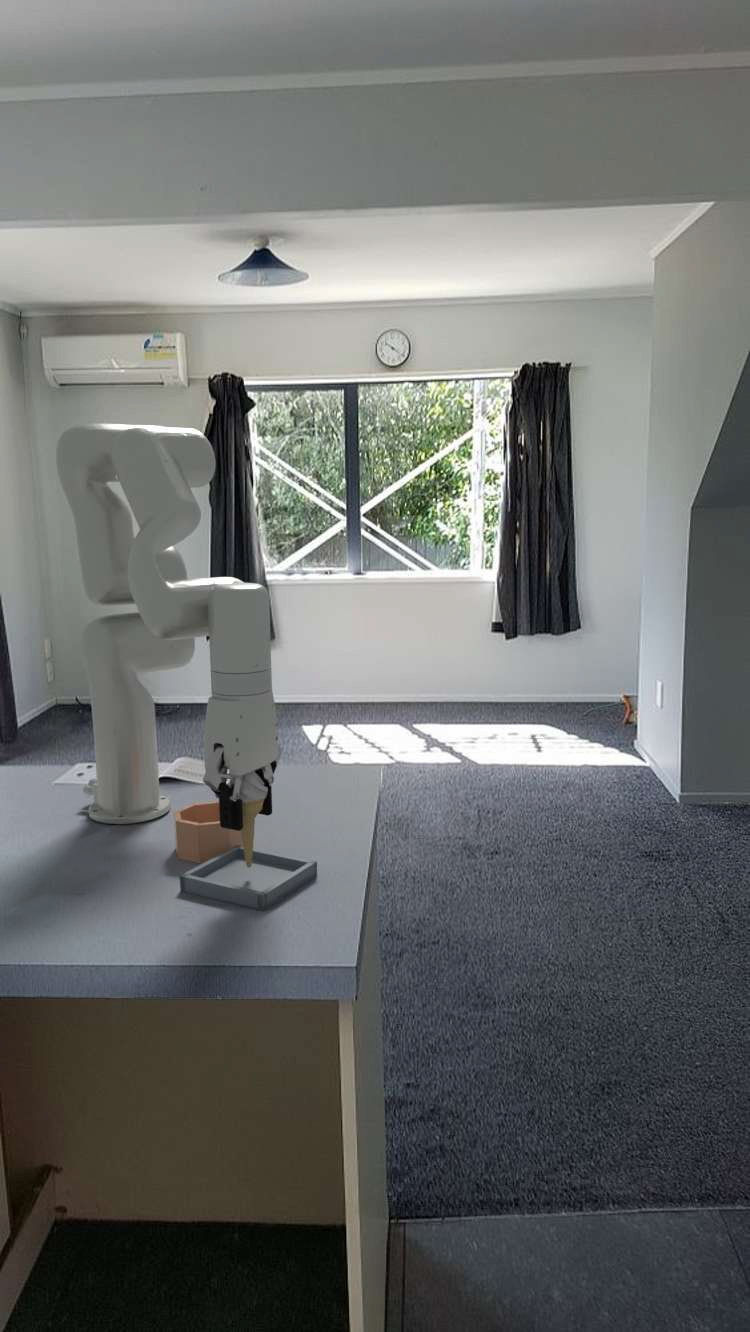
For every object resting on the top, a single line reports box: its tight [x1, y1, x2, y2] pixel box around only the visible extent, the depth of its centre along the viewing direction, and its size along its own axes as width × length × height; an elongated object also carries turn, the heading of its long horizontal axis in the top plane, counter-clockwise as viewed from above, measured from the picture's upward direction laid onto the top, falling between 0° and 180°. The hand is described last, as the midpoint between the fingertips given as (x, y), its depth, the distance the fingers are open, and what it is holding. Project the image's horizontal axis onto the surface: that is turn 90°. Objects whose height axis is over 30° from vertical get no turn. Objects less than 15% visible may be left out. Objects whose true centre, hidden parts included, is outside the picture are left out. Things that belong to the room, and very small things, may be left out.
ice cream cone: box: [226, 771, 268, 868], centre depth 122 cm, size 6×6×15 cm
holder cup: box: [173, 800, 243, 865], centre depth 135 cm, size 10×10×6 cm
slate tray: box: [179, 845, 318, 912], centre depth 124 cm, size 13×12×2 cm
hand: (246, 819), depth 123 cm, fingers closed on ice cream cone, 5 cm apart
